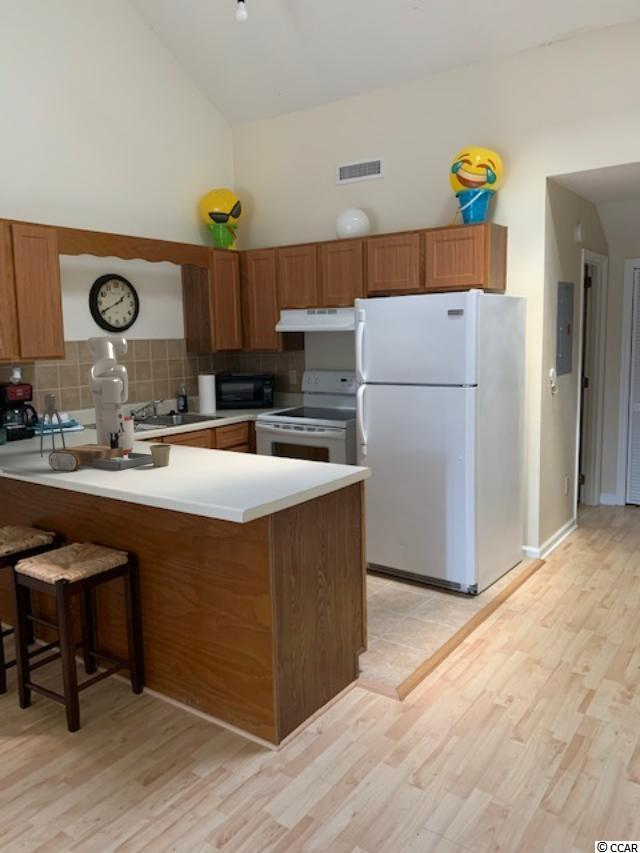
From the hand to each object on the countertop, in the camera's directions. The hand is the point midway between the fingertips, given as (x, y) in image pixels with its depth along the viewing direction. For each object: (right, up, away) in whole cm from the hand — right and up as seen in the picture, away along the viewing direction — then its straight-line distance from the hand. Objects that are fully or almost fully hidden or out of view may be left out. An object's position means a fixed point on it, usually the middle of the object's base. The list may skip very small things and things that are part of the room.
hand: (114, 448), depth 293 cm
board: (-12, -6, +9) cm, 16 cm away
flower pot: (+22, -7, -6) cm, 24 cm away
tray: (+5, -7, -2) cm, 9 cm away
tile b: (+1, -4, 0) cm, 4 cm away
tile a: (+6, -5, -3) cm, 8 cm away
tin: (-17, -9, -12) cm, 23 cm away
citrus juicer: (-6, -4, +28) cm, 29 cm away
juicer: (-37, -5, +22) cm, 44 cm away
